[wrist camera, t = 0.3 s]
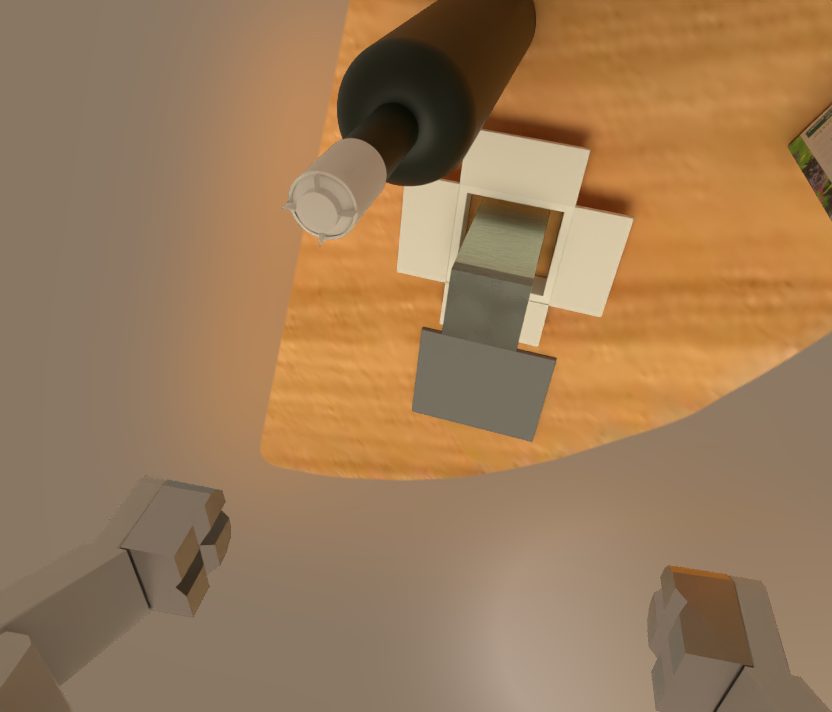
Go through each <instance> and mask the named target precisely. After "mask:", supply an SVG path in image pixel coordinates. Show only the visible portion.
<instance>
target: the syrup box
mask: <svg viewBox="0 0 832 712" xmlns="http://www.w3.org/2000/svg"><path fill="white" fill-rule="evenodd" d="M788 148H789V150H790V152H791V153H792V155H793V157H794V159H795V160H796V162H797V164H798V165H799V167H800V169H801V170H802V172H803V173H804V175H805V177H806V178H807V180H808V182H809V184H810V185H811V187H812V189H813V191H814V192H815V194H816V196H817V197H818V199H819V201H820V202H821V204H822V206H823V207H824V209H825V211H826V212H827V214H828V216H829V218H830V219H831V221H832V105H831V106H830V107H829V108H828V109H827V110H826V111H824V112H823V113H822V114H821V115H820V116H819V117H818V118H817V119H816V120H815V121H814V122H813V123H812V124H811V125H810V126H809V127H808V128H807V129H806V130H805V131H804V132H803V133H801V134H800V135H799V137H797V138H796V139H795V140H794V141H793V142H792V143H791V144H790V145H789V147H788Z"/></svg>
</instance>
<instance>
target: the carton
mask: <svg viewBox="0 0 832 712" xmlns="http://www.w3.org/2000/svg"><path fill="white" fill-rule="evenodd" d="M590 149H591V148H585V147H580V146H575V145H569V144H564V143H558V142H553V141H547V140H542V139H537V138H531V137H526V136H520V135H515V134H509V133H504V132H499V131H493V130H488V129H481V130H480V132H479V134H478V135H477V137H476V139H475V141H474V142H473V144H472V146H471V148H470V149H469V151H468V153H467V154H466V156H465V157H464V159H463V164H462V171H461V178H460V182H457V181H452V180H447V179H442V178H441V179H439V180H437V181H435V182H432V183H429V184H426V185H421V186H404V195H403V206H402V218H401V229H400V241H399V252H398V264H397V272H400V273H404V274H409V275H413V276H418V277H422V278H427V279H431V280H436V281H440V282H445V289H444V296H443V303H442V310H441V317H440V324H442V325H443V322H444V315H445V308H446V301H447V295H448V288H449V281H450V274H451V269H452V266H453V264H454V262H455V260H456V257H457V255H458V253H459V251H460V249H461V246H462V244H463V242H464V240H465V236H466V229H467V223H468V217H469V210H470V204H471V197H472V194H476V195H481V196H486V197H491V198H496V199H501V200H506V201H511V202H516V203H521V204H526V205H531V206H536V207H541V208H546V209H551V210H556V211H561V212H564V213H563V217H562V221H561V225H560V229H559V233H558V236H557V240H556V244H555V248H554V252H553V256H552V260H551V264H550V268H549V272H548V275H547V278H543V277H539V276H534V280H533V284H532V289H531V293H530V297H529V301H528V305H527V309H526V313H525V317H524V322H523V326H522V330H521V334H520V338H519V342H520V343H524V344H528V345H533V346H537V347H538V344H539V341H540V337H541V333H542V329H543V326H544V322H545V318H546V314H547V311H548V307H549V306H553V307H557V308H562V309H566V310H571V311H575V312H580V313H584V314H589V315H593V316H598V317H601V316H602V313H603V310H604V307H605V304H606V301H607V298H608V295H609V292H610V289H611V286H612V283H613V280H614V277H615V274H616V271H617V268H618V265H619V262H620V259H621V256H622V253H623V250H624V247H625V244H626V241H627V238H628V235H629V232H630V229H631V226H632V223H633V220H634V216H629V215H624V214H619V213H614V212H609V211H604V210H599V209H594V208H589V207H584V206H579V205H576V202H577V198H578V195H579V191H580V187H581V183H582V180H583V176H584V172H585V168H586V165H587V161H588V157H589V153H590Z"/></svg>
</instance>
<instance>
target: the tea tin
mask: <svg viewBox="0 0 832 712" xmlns="http://www.w3.org/2000/svg"><path fill="white" fill-rule="evenodd" d="M549 213H550V209H546V208H541V207H536V206H531V205H526V204H521V203H516V202H511V201H506V200H501V199H496V198H491V197H486V196H484V198H483V200H482V202H481V204H480V207H479V209H478V211H477V213H476V215H475V218H474V220H473V222H472V224H471V226H470V229H469V231H468V233H467V235H466V238H465V240H464V242H463V244H462V246H461V249H460V251H459V253H458V255H457V257H456V260H455V262H454V264H453V266H452V269H451V274H450V281H449V288H448V295H447V301H446V308H445V315H444V322H443V328H442V335H446V336H450V337H455V338H459V339H463V340H468V341H472V342H476V343H480V344H485V345H489V346H493V347H497V348H502V349H506V350H510V351H514V352H516V351H517V346H518V342H519V338H520V334H521V330H522V326H523V322H524V317H525V313H526V309H527V305H528V301H529V297H530V293H531V289H532V284H533V280H534V276H535V272H536V268H537V263H538V259H539V255H540V251H541V247H542V243H543V238H544V234H545V230H546V226H547V222H548V217H549Z"/></svg>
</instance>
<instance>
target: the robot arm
mask: <svg viewBox="0 0 832 712" xmlns="http://www.w3.org/2000/svg"><path fill="white" fill-rule="evenodd" d="M224 504H225V498H224V494H223V491H222V490H219V489H213V488H208V487H203V486H198V485H193V484H188V483H183V482H178V481H173V480H168V479H162V478H156V477H151V476H144V477H143V478H141V479H140V480H138V481H137V482H136V484H135V485H134V486H133V488H132V489H131V491H130V492H129V493H128V495H127V496H126V497H125V499H124V500H123V501H122V503H121V504H120V506H119V507H118V508H117V510H116V511H115V512H114V514H113V515H112V516H111V518H110V519H109V521H108V522H107V523H106V525H105V526H104V527H103V529H102V530H101V532H100V533H99V534H98V536H97V537H96V538H95V540H94V541H93V542H92V543H88V542H84V543H82V544H81V545H79V546H77V547H75V548H73V549H72V550H70V551H68V552H66V553H65V554H63V555H61V556H60V557H58V558H56V559H54V560H52V561H51V562H49V563H47V564H46V565H44V566H42V567H40V568H38V569H37V570H35V571H33V572H31V573H30V574H28V575H26V576H24V577H23V578H21V579H19V580H17V581H15V582H14V583H12V584H10V585H8V586H7V587H5V588H3V589H1V590H0V712H73V708H72V705H71V703H70V702H69V700H68V699H67V697H66V695H65V694H64V692H63V690H62V689H61V687H60V686H61V685H62V684H63V683H64V682H65V681H67V680H68V679H69V678H71V677H72V676H73V675H74V674H75V673H77V672H78V671H79V670H80V669H82V668H83V667H84V666H85V665H87V664H88V663H89V662H90V661H92V660H93V659H94V658H95V657H97V656H98V655H99V654H100V653H102V652H103V651H104V650H105V649H106V648H108V647H109V646H110V645H111V644H113V643H114V642H115V641H116V640H118V639H119V638H120V637H121V636H122V635H124V634H125V633H126V632H128V631H129V630H130V629H131V628H132V627H134V626H135V625H136V624H137V623H139V622H140V621H141V620H142V619H144V618H145V617H146V616H147V615H148V614H150V610H153V611H158V612H164V613H170V614H176V615H182V616H187V617H194V615H195V613H196V611H197V610H198V607H199V606H200V604H201V602H202V600H203V598H204V596H205V594H206V592H207V590H208V588H209V581H208V578H207V574H209V573H210V572H212V571H213V570H215V569H216V568H217V567H219V566H220V565H221V563H222V561H223V559H224V557H225V555H226V553H227V549H228V545H229V542H230V538H231V524H230V520H229V517H228V516H227V515H226V514H225V513H224V512H223V511H222V508H223V506H224ZM660 578H661V586H662V589H661V590H659V591H657V592H655V593H654V594H653V597H652V600H651V603H650V606H649V613H648V642H649V648H650V649H651V650H652V651H653V653H654V654H655V655H656V657H657V661H656V663H655V665H654V667H653V670H652V681H653V689H654V699H655V708H656V711H660V712H831V711H830V710H829V708H828V707H827V706H826V705H825V704H824V703H823V702H822V700H821V699H820V698H819V697H818V696H817V695H816V694H815V693H814V691H813V690H812V689H811V688H810V687H809V686H808V685H807V684H806V682H805V681H804V680H803V679H802V678H801V677H798V676H794V675H791V674H790V670H789V666H788V663H787V659H786V656H785V652H784V649H783V646H782V642H781V638H780V635H779V632H778V628H777V625H776V621H775V618H774V615H773V611H772V607H771V604H770V600H769V597H768V593H767V590H766V587H765V586H764V584H763V583H762V582H761V581H758V580H754V579H747V578H741V577H735V576H728V575H726V574H722V573H715V572H708V571H702V570H696V569H689V568H683V567H677V566H670V565H669V566H667V567H666V568H665V569H664V570H663V573H662V575H661V577H660Z"/></svg>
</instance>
